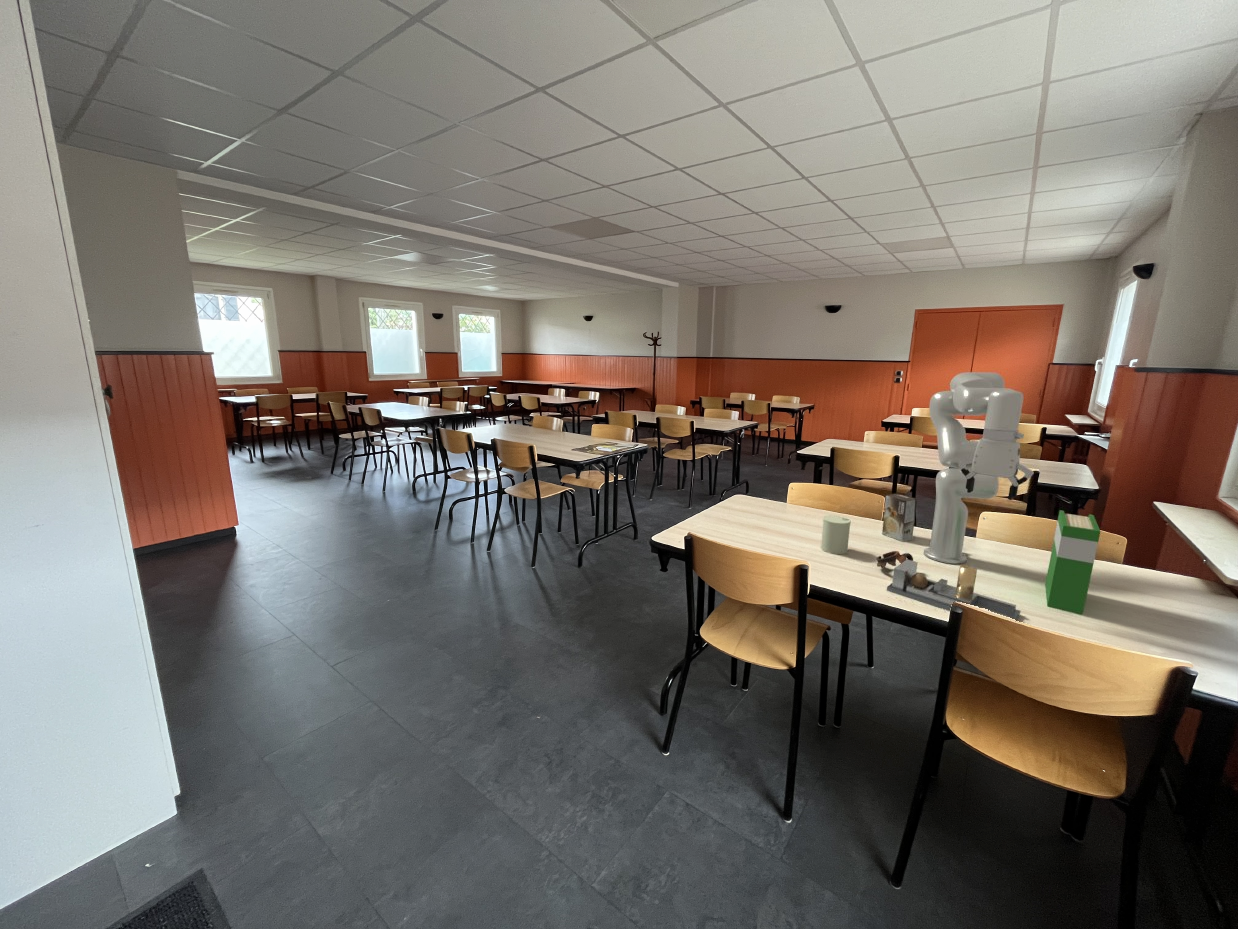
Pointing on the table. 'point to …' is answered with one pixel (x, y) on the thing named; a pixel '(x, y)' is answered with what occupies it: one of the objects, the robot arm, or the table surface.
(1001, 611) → the base
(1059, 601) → the hardback book
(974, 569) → the jaw carriage
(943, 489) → the robot arm
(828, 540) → the can
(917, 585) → the walnut
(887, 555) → the rusty shackles
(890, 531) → the coffee box
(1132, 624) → the table surface
